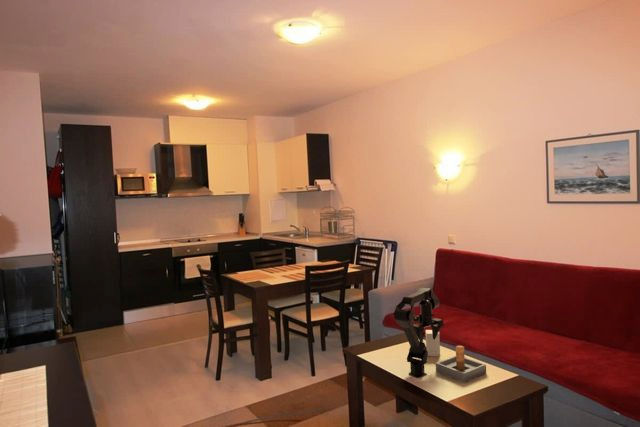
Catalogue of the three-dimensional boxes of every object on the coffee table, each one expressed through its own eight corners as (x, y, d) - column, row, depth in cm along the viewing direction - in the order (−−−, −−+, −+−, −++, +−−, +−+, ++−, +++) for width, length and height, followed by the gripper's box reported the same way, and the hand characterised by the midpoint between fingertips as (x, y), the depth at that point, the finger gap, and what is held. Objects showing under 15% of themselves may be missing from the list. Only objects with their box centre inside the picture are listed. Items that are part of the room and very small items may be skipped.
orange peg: (463, 374, 214) (463, 348, 213) (455, 373, 216) (454, 347, 215) (465, 371, 217) (465, 346, 217) (457, 370, 219) (456, 345, 219)
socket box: (463, 383, 205) (463, 373, 205) (435, 371, 219) (435, 363, 219) (486, 373, 214) (485, 364, 214) (458, 363, 228) (457, 354, 228)
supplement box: (440, 356, 239) (439, 333, 238) (426, 356, 240) (425, 333, 240) (439, 351, 246) (438, 329, 246) (426, 351, 248) (425, 329, 247)
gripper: (427, 305, 237) (429, 333, 238) (402, 312, 227) (403, 341, 228) (443, 309, 227) (444, 338, 228) (417, 316, 217) (418, 347, 218)
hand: (427, 341), depth 226 cm, fingers open, 9 cm apart
